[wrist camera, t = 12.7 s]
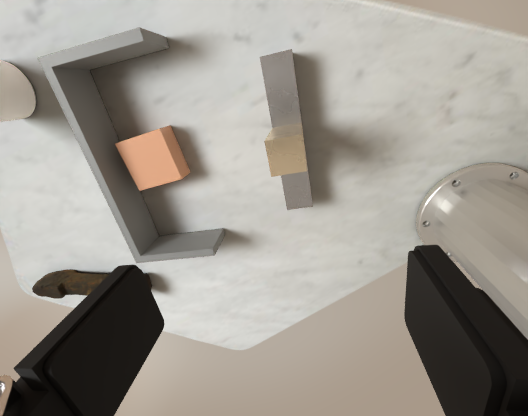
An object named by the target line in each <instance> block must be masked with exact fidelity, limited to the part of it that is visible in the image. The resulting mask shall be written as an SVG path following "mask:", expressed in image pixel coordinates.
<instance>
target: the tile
mask: <svg viewBox="0 0 528 416" xmlns="http://www.w3.org/2000/svg"><path fill="white" fill-rule="evenodd" d="M115 145H116V147H117V149H118V151H119V153H120V155H121V157H122V158H123V160H124V162H125V164H126V166H127V168H128V170H129V172H130V174H131V176H132V178H133V180H134V181H135V183H136V185H137V187H138V189H139V191H141V190H144V189H148V188H152V187H155V186H159V185H162V184H166V183H170V182H173V181H177V180H180V179H183V178H184V177H185V176H186V175H188V174H189V173H190V170H189V168H188V165H187V163H186V161H185V158H184V156H183V154H182V151H181V149H180V147H179V144H178V142H177V140H176V137H175V135H174V133H173V130H172V128H171V126H167V127H163V128H160V129H157V130H154V131H151V132H148V133H145V134H142V135H139V136H136V137H133V138H130V139H127V140H124V141H121V142H118V143H115Z"/></svg>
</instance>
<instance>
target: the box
mask: <svg viewBox="0 0 528 416" xmlns="http://www.w3.org/2000/svg"><path fill="white" fill-rule="evenodd" d="M168 48H169V45H168V42H167V39H166V37H164V36H162V35H159V34H156V33H153V32H151V31H148V30H145V29H142V28H136V29H132V30H129V31H126V32H122V33H119V34H116V35H112V36H109V37H105V38H102V39H99V40H95V41H92V42H89V43H85V44H82V45H79V46H75V47H72V48H69V49H65V50H62V51H58V52H55V53H52V54H48V55H45V56H42V57H38V60H39V62H40V65H41V67H42V69H43V71H44V73H45V75H46V77H47V79H48V81H49V83H50V85H51V87H52V89H53V91H54V93H55V96H56V98H57V100H58V102H59V104H60V106H61V108H62V110H63V112H64V114H65V116H66V118H67V120H68V122H69V124H70V127H71V129H72V131H73V133H74V135H75V137H76V139H77V141H78V143H79V145H80V147H81V149H82V151H83V153H84V155H85V158H86V160H87V162H88V164H89V166H90V168H91V170H92V172H93V174H94V176H95V178H96V180H97V182H98V184H99V186H100V189H101V191H102V193H103V195H104V197H105V199H106V201H107V203H108V205H109V207H110V209H111V211H112V213H113V215H114V217H115V220H116V222H117V224H118V226H119V228H120V230H121V232H122V234H123V236H124V238H125V240H126V242H127V244H128V246H129V248H130V251H131V253H132V255H133V257H134V259H135V261H136V263H143V262H153V261H163V260H173V259H183V258H194V257H204V256H214V255H215V254H216V252H217V250H218V248H219V246H220V244H221V242H222V240H223V238H224V236H225V233H224V229H223V228H222V229H214V230H205V231H197V232H188V233H180V234H172V235H163V236H159V235H158V232H157V230H156V227H155V225H154V223H153V220H152V218H151V216H150V213H149V211H148V208H147V206H146V204H145V201H144V199H143V196H142V194H141V192H140V191H139V189H138V187H137V185H136V183H135V181H134V180H133V178H132V176H131V174H130V172H129V170H128V168H127V166H126V164H125V162H124V160H123V158H122V157H121V155H120V153H119V151H118V149H117V147H116V145H115V143H118V142H119V139H118V137H117V135H116V132H115V130H114V127H113V125H112V123H111V120H110V118H109V115H108V113H107V111H106V108H105V106H104V104H103V101H102V99H101V96H100V94H99V92H98V89H97V87H96V84H95V82H94V80H93V77H92V75H91V73H90V70H91V69H94V68H98V67H102V66H105V65H109V64H113V63H116V62H120V61H124V60H127V59H131V58H135V57H138V56H142V55H146V54H149V53H153V52H157V51H160V50H164V49H168Z"/></svg>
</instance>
